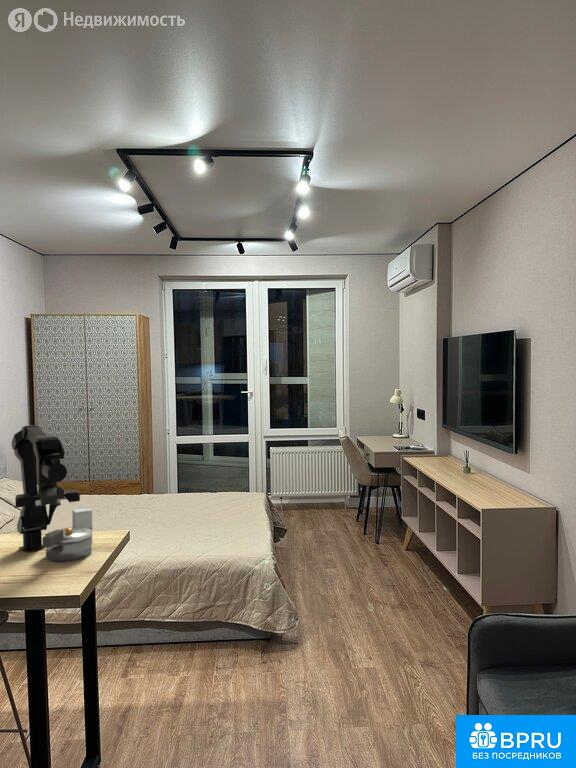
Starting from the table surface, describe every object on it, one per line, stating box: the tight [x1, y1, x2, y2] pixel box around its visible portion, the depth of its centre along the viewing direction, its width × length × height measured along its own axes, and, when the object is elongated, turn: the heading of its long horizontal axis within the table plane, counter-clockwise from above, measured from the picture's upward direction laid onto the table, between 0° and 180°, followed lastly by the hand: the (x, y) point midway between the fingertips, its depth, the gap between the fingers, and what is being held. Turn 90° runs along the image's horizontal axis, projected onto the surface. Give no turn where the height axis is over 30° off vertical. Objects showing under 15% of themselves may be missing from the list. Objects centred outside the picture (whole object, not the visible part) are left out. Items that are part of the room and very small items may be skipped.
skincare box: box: [71, 507, 93, 545], centre depth 202 cm, size 6×4×12 cm
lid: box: [42, 526, 93, 548], centre depth 186 cm, size 21×15×4 cm
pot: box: [45, 537, 92, 564], centre depth 187 cm, size 20×14×6 cm
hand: (48, 524), depth 182 cm, fingers closed
